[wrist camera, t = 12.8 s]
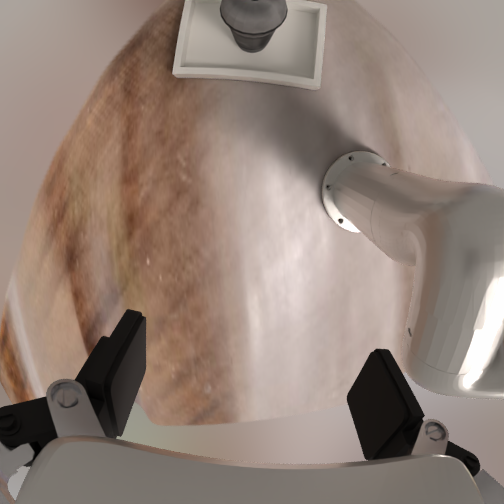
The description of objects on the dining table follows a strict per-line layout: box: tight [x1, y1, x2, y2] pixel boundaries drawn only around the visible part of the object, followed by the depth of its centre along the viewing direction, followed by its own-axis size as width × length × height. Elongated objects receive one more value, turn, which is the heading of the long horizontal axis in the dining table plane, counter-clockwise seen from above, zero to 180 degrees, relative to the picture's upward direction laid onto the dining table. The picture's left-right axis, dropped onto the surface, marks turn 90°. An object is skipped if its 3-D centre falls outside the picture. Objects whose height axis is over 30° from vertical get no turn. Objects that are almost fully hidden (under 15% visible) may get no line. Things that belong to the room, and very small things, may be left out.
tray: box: [172, 0, 327, 91], centre depth 33 cm, size 20×14×3 cm
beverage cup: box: [220, 0, 288, 53], centre depth 25 cm, size 7×7×20 cm
